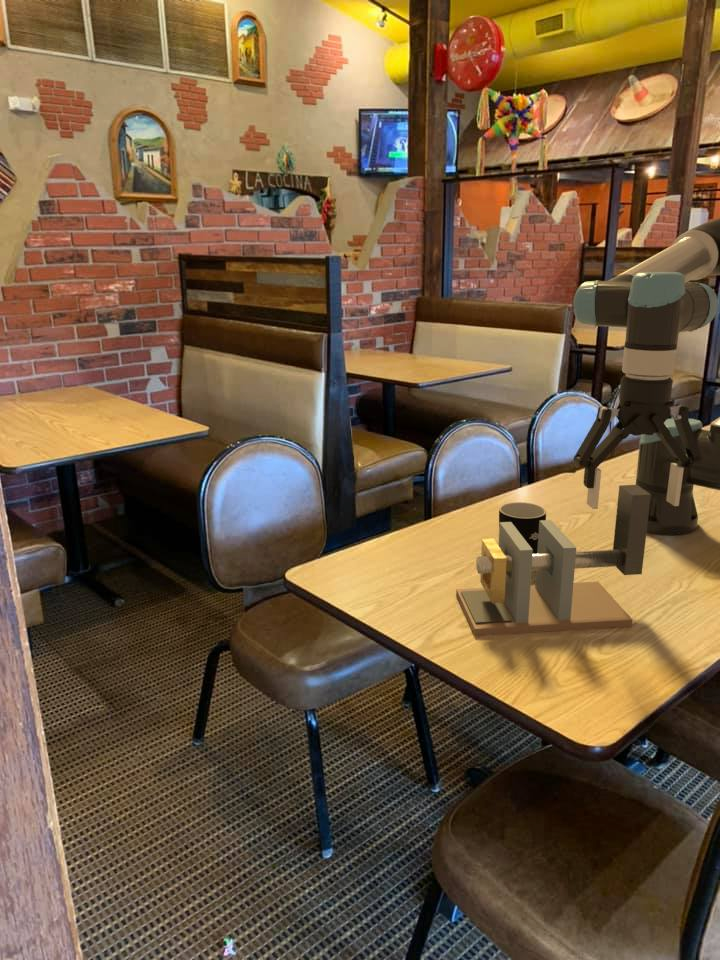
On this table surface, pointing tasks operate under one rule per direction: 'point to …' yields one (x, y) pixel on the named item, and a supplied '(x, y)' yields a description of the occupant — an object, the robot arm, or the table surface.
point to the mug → (524, 520)
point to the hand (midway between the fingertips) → (632, 505)
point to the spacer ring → (494, 571)
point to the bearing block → (541, 591)
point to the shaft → (626, 539)
